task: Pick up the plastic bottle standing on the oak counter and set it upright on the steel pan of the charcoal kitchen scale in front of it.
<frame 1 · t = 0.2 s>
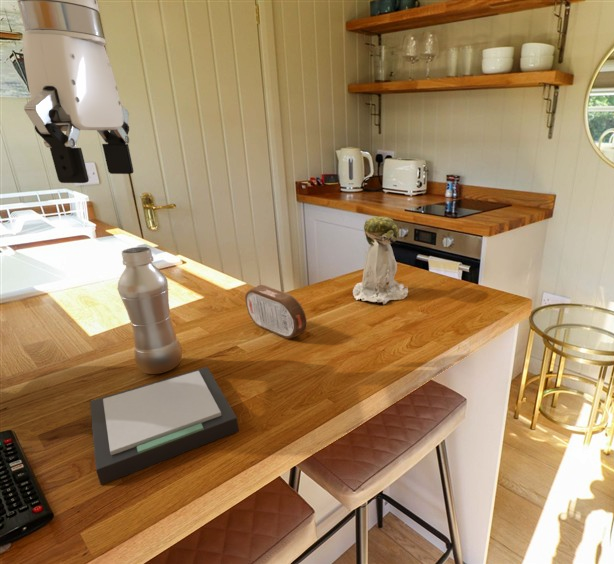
hand: (99, 177, 55), 31 cm above the breakfast bar, tool pointing down, fingers open, 9 cm apart
draped concrete planter: (380, 295, 100), on the breakfast bar
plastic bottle: (162, 369, 69), on the breakfast bar
tin: (276, 332, 82), on the breakfast bar
scale: (164, 422, 56), on the breakfast bar
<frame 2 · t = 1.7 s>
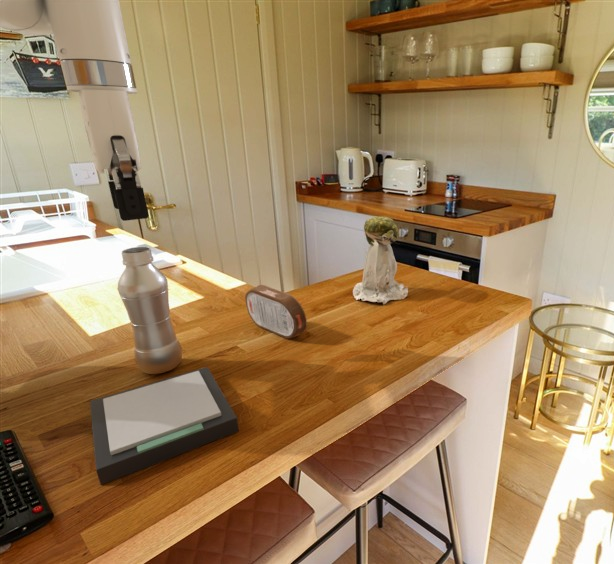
hand: (131, 213, 60), 25 cm above the breakfast bar, tool pointing down, fingers open, 9 cm apart
nothing on the breakfast bar moved.
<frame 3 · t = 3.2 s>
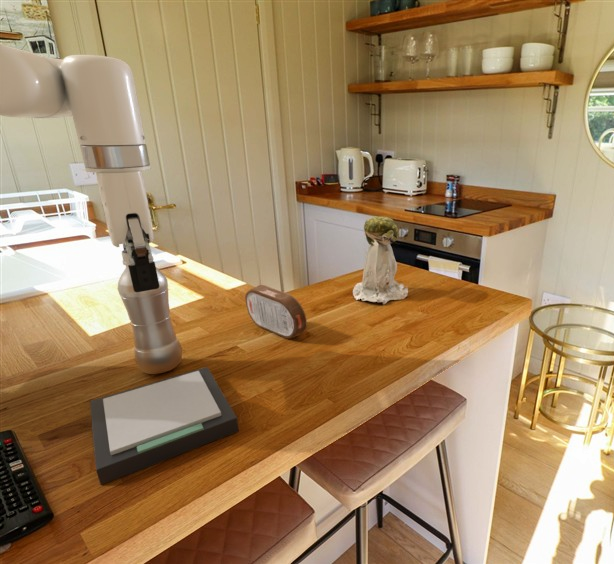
hand: (143, 281, 63), 15 cm above the breakfast bar, tool pointing down, fingers closed on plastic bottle, 6 cm apart
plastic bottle: (162, 369, 69), on the breakfast bar, touching gripper
everything else where it was.
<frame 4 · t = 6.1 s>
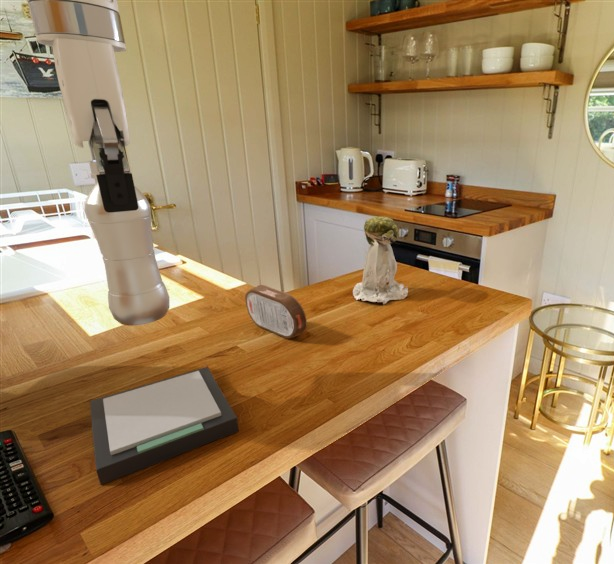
hand: (118, 204, 49), 29 cm above the breakfast bar, tool pointing down, fingers closed on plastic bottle, 6 cm apart
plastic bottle: (144, 322, 55), point 13 cm above the breakfast bar, touching gripper
everything else where it was.
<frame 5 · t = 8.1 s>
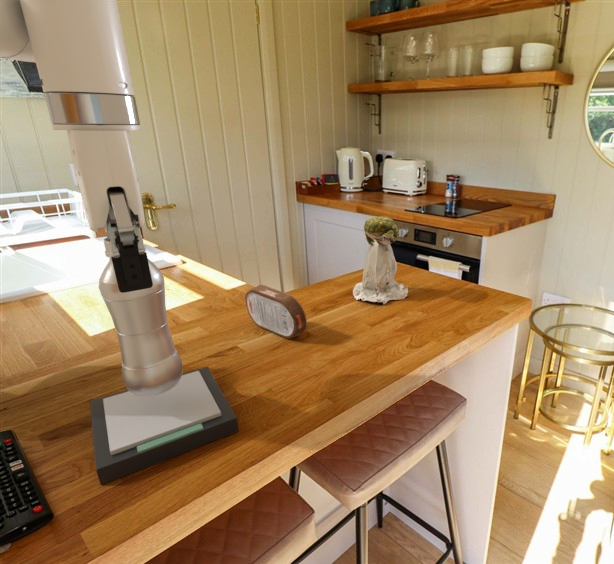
hand: (132, 278, 49), 20 cm above the breakfast bar, tool pointing down, fingers closed on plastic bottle, 6 cm apart
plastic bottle: (157, 389, 55), point 5 cm above the breakfast bar, touching gripper
everything else where it was.
when the fingers open (18 cm above the breakfast bar, at t = 9.3 s): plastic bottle stays where it is, resting on scale.
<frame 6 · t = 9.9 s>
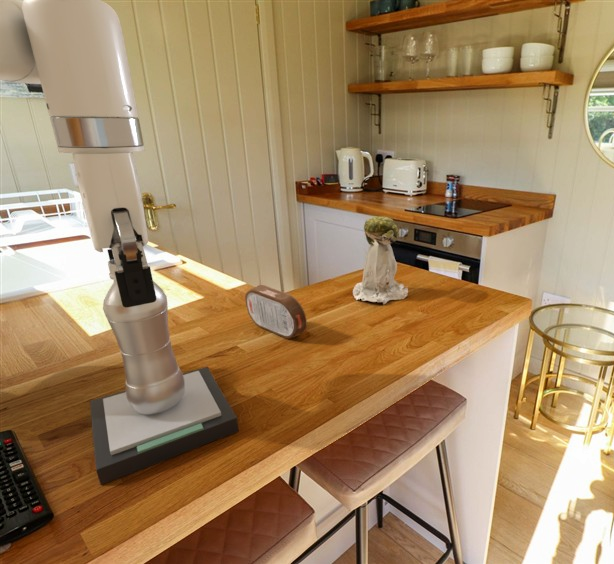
hand: (134, 290, 50), 19 cm above the breakfast bar, tool pointing down, fingers open, 9 cm apart
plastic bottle: (160, 406, 55), point 3 cm above the breakfast bar, touching scale
everything else where it was.
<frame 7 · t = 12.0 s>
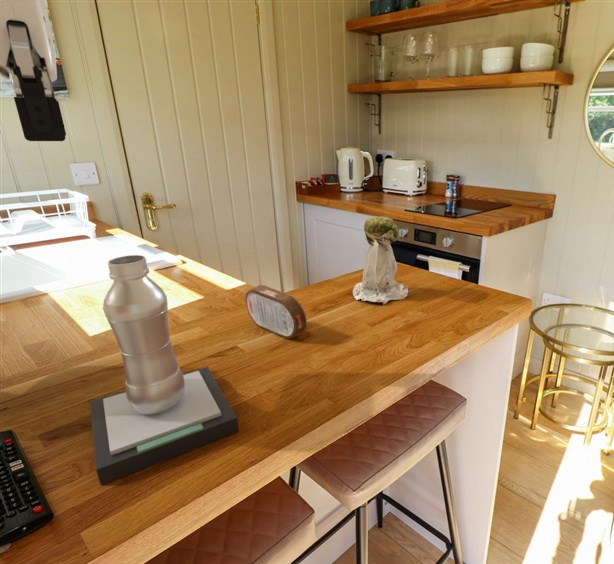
hand: (48, 138, 46), 36 cm above the breakfast bar, tool pointing down, fingers open, 9 cm apart
nothing on the breakfast bar moved.
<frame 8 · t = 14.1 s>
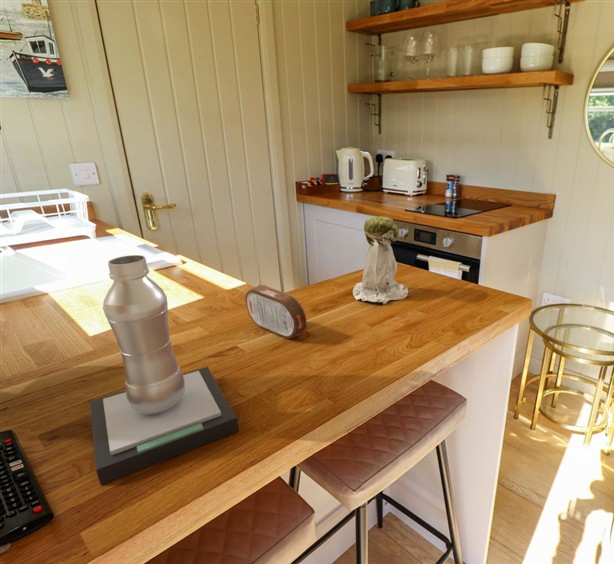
nothing on the breakfast bar moved.
at the end: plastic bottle inside the target area on the scale (0.1 cm from its centre), point 2.6 cm above the scale's base; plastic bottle tilted 0°; the gripper is holding nothing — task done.
